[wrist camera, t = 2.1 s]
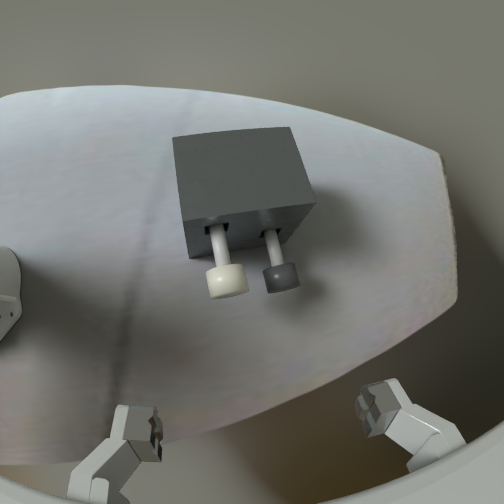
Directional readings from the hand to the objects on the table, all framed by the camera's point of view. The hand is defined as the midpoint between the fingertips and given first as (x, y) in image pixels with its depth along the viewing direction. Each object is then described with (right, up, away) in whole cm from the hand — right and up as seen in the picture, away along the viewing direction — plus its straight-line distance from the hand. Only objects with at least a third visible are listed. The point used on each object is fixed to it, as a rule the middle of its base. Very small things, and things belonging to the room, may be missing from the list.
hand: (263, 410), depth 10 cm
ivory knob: (-4, +5, +28) cm, 29 cm away
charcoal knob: (+3, +5, +34) cm, 35 cm away
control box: (-4, +12, +39) cm, 42 cm away
